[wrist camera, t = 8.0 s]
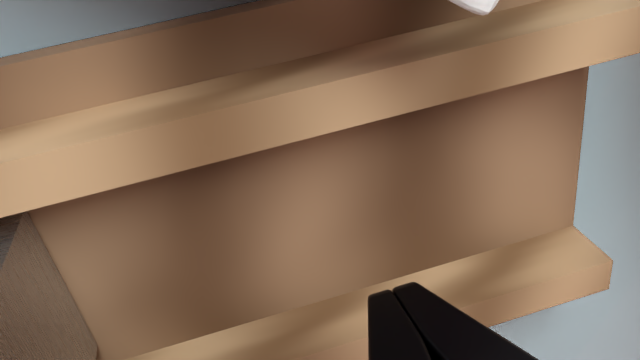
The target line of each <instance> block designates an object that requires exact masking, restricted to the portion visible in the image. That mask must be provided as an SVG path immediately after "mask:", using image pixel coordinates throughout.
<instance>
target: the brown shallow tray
mask: <svg viewBox="0 0 640 360" xmlns="http://www.w3.org/2000/svg"><path fill="white" fill-rule="evenodd" d="M637 53H640V0H499V1H498V3H497V5H496V6H495V8H494V9H493V10H492V11H490V13H489V14H487V15H478V14H474V13H472V12H470V11H468V10H466V9H464V8H462V7H460V6H458V5H456V4H454V3H452V2H450V1H449V0H259V1H255V2H250V3H246V4H241V5H236V6H232V7H227V8H223V9H218V10H214V11H209V12H205V13H200V14H196V15H191V16H187V17H182V18H178V19H173V20H169V21H164V22H160V23H155V24H151V25H146V26H142V27H137V28H133V29H128V30H124V31H119V32H115V33H110V34H106V35H101V36H96V37H92V38H87V39H83V40H78V41H74V42H69V43H65V44H60V45H56V46H51V47H47V48H42V49H38V50H33V51H29V52H24V53H20V54H15V55H11V56H6V57H2V58H0V218H2V217H6V216H10V215H13V214H17V213H21V212H25V211H27V212H28V214H29V216H30V218H31V220H32V222H33V224H34V226H35V227H36V229H37V231H38V233H39V235H40V237H41V239H42V241H43V243H44V245H45V246H46V248H47V250H48V252H49V254H50V256H51V258H52V260H53V262H54V264H55V265H56V267H57V269H58V271H59V273H60V275H61V277H62V279H63V281H64V282H65V284H66V286H67V288H68V290H69V292H70V294H71V296H72V298H73V300H74V301H75V303H76V305H77V307H78V309H79V311H80V313H81V315H82V317H83V319H84V320H85V322H86V324H87V326H88V328H89V330H90V332H91V334H92V336H93V338H94V339H95V341H96V343H97V345H98V346H97V354H96V360H368V296H369V295H371V294H374V293H377V292H380V291H384V290H387V289H389V290H391V291H392V290H393V288H394V287H397V286H400V285H403V284H406V283H410V282H416V283H418V284H420V285H422V286H423V287H425V288H426V289H428V290H429V291H431V292H433V293H434V294H436V295H437V296H439V297H441V298H442V299H444V300H445V301H447V302H448V303H450V304H452V305H453V306H455V307H456V308H458V309H459V310H461V311H463V312H464V313H466V314H467V315H469V316H470V317H472V318H474V319H475V320H477V321H478V322H480V323H481V324H483V325H485V326H486V327H490V326H494V325H497V324H500V323H503V322H506V321H509V320H512V319H516V318H519V317H522V316H525V315H528V314H531V313H534V312H537V311H541V310H544V309H547V308H550V307H553V306H556V305H559V304H563V303H566V302H569V301H572V300H575V299H578V298H581V297H585V296H588V295H591V294H594V293H597V292H600V291H603V290H607V289H609V284H610V277H611V271H612V264H613V260H612V259H611V258H610V257H609V256H607V255H606V254H605V253H604V252H603V251H602V250H601V249H599V248H598V247H597V246H596V245H595V244H594V243H592V242H591V241H590V240H589V239H588V238H587V237H586V236H584V235H583V234H582V233H581V232H580V231H579V230H577V229H576V228H575V227H574V226H573V220H574V210H575V200H576V190H577V180H578V170H579V160H580V150H581V140H582V130H583V120H584V110H585V100H586V90H587V80H588V70H589V66H591V65H595V64H599V63H602V62H606V61H610V60H614V59H618V58H622V57H626V56H630V55H633V54H637Z"/></svg>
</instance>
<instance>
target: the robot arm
mask: <svg viewBox="0 0 640 360" xmlns="http://www.w3.org/2000/svg"><path fill="white" fill-rule="evenodd" d="M368 360H538V359H537V358H535V357H533V356H532V355H530V354H529V353H527V352H526V351H524V350H522V349H521V348H519V347H518V346H516V345H515V344H513V343H511V342H510V341H508V340H507V339H505V338H504V337H502V336H500V335H499V334H497V333H496V332H494V331H493V330H491V329H489V328H488V327H486V326H485V325H483V324H481V323H480V322H478V321H477V320H475V319H474V318H472V317H470V316H469V315H467V314H466V313H464V312H463V311H461V310H459V309H458V308H456V307H455V306H453V305H452V304H450V303H448V302H447V301H445V300H444V299H442V298H441V297H439V296H437V295H436V294H434V293H433V292H431V291H429V290H428V289H426V288H425V287H423V286H422V285H420V284H418V283H416V282H410V283H406V284H403V285H400V286H397V287H394V288H393V290H392V291H391V290H389V289H387V290H384V291H380V292H377V293H374V294H371V295H369V296H368Z"/></svg>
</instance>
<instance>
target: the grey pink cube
mask: <svg viewBox="0 0 640 360" xmlns="http://www.w3.org/2000/svg"><path fill="white" fill-rule="evenodd" d="M97 346H98V345H97V343H96V341H95V339H94V338H93V336H92V334H91V332H90V330H89V328H88V326H87V324H86V322H85V320H84V319H83V317H82V315H81V313H80V311H79V309H78V307H77V305H76V303H75V301H74V300H73V298H72V296H71V294H70V292H69V290H68V288H67V286H66V284H65V282H64V281H63V279H62V277H61V275H60V273H59V271H58V269H57V267H56V265H55V264H54V262H53V260H52V258H51V256H50V254H49V252H48V250H47V248H46V246H45V245H44V243H43V241H42V239H41V237H40V235H39V233H38V231H37V229H36V227H35V226H34V224H33V222H32V220H31V218H30V216H29V214H28V212H27V211H25V212H21V213H17V214H13V215H10V216H6V217H2V218H0V360H96V354H97Z"/></svg>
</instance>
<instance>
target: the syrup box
mask: <svg viewBox="0 0 640 360" xmlns="http://www.w3.org/2000/svg"><path fill="white" fill-rule="evenodd" d="M449 1H450V2H452V3H454V4H456V5H458V6H460V7H462V8H464V9H466V10H468V11H470V12H472V13H474V14H478V15H487V14H489V13H490V11H492V10H493V9H494V8H495V6H496V5H497V3H498V1H499V0H449Z"/></svg>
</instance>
